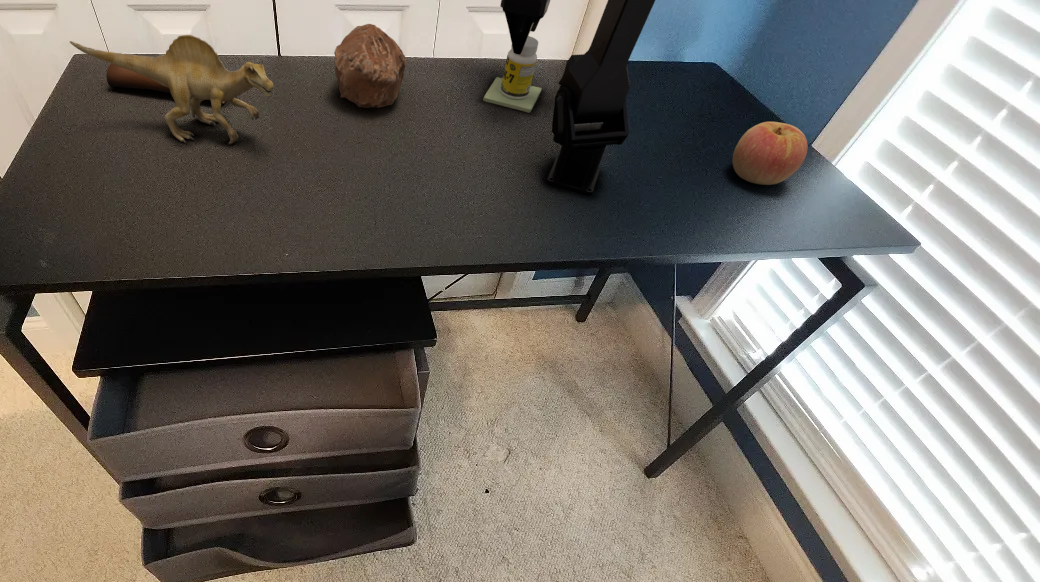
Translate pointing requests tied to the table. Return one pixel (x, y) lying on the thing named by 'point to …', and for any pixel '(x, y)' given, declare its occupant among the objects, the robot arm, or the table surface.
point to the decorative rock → (369, 67)
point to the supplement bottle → (519, 71)
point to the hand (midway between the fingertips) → (524, 42)
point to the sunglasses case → (132, 80)
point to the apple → (769, 153)
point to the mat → (519, 104)
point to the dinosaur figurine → (193, 80)
